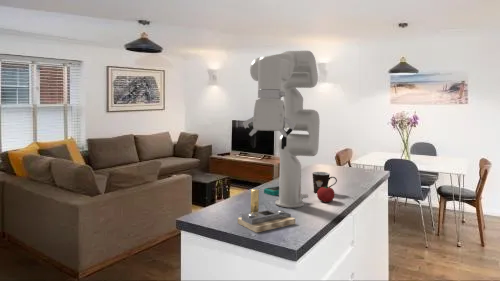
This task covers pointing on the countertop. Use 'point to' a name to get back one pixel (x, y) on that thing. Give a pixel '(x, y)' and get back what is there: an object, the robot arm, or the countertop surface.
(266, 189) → the digital multimeter
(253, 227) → the board
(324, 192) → the tomato
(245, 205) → the countertop surface
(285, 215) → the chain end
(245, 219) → the plate
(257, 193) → the brass pin
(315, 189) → the coffee mug
